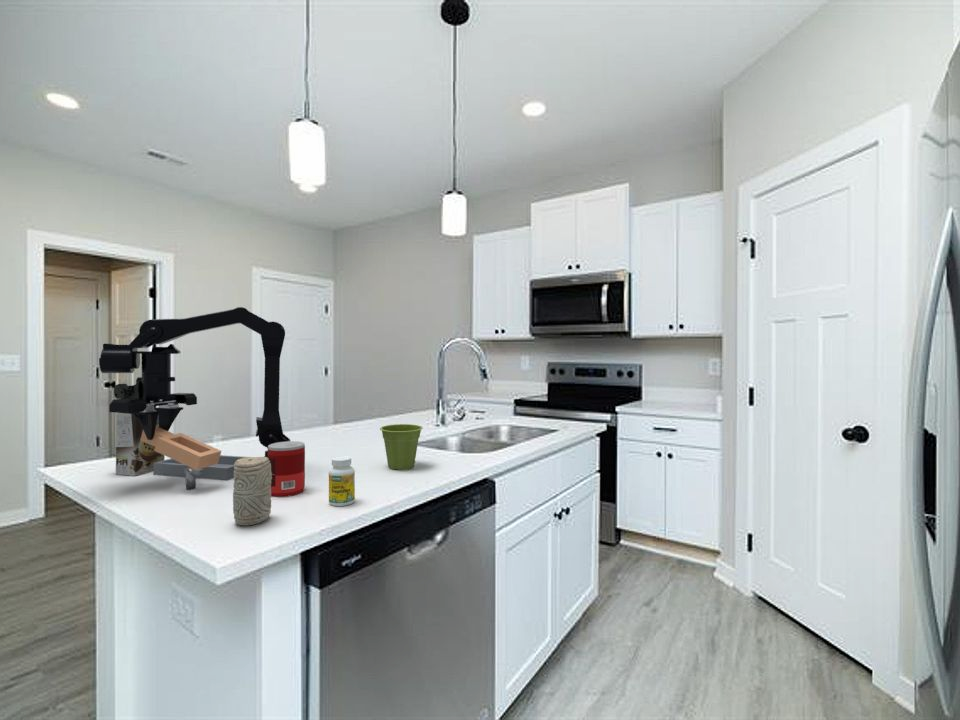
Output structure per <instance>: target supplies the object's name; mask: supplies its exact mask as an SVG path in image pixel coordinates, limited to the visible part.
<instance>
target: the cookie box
mask: <svg viewBox="0 0 960 720" xmlns="http://www.w3.org/2000/svg"><path fill="white" fill-rule="evenodd" d="M154 411H156V410H155V409H154ZM115 416H116V417H115V418H116V419H115V420H116V423H115V475H118V476H119V475H120V476H121V475H122V476H128V477H130V476H131V477H136V476H140V475H142V474H147V473H152V472H153V463H155V462H159V461H163V460H166V459H165V457H166V456H165V455H162V454H160V453H158V452H156V451H154V449H155V447H154V446H152V445H150V444H148V443H146V442H143V441H141V440H140V439H141V436H142V432H143V428H142V426H141V424H140V422H139V420H138V419H137V418H136V417H135V416H134V415H133V414H128V413H116V412H115ZM156 426H157V427H159V415H158V418H157V423H156Z"/></svg>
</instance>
